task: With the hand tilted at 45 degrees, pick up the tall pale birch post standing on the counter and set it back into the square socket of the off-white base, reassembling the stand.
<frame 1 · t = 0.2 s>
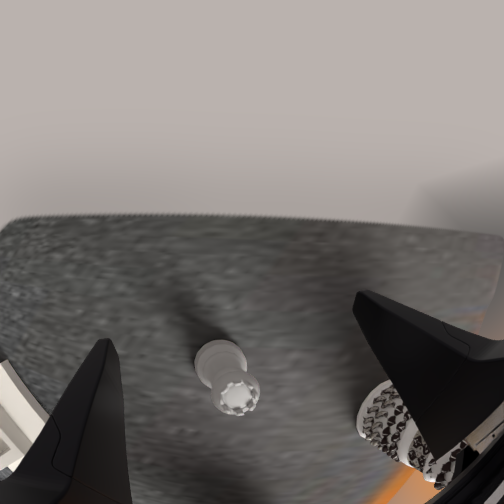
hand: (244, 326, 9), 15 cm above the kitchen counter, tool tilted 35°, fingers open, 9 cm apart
rook chess piece: (219, 361, 24), on the kitchen counter
decorative candle: (382, 409, 28), on the kitchen counter
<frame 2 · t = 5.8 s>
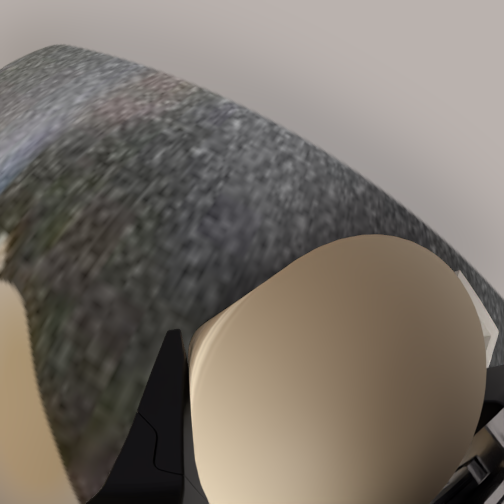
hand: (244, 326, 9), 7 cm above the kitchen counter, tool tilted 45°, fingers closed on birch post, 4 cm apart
birch post: (225, 353, 15), on the kitchen counter, touching gripper
socket base: (431, 349, 19), on the kitchen counter
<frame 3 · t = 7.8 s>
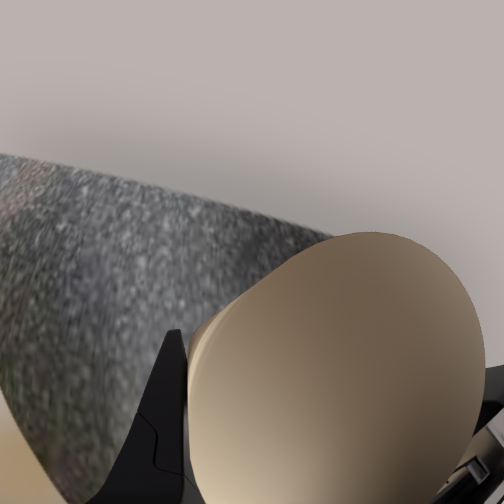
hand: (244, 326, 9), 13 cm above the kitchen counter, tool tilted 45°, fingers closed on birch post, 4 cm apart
birch post: (224, 353, 15), point 6 cm above the kitchen counter, touching gripper
when the fingers open (10 cm above the kitchen counter, at t = 9.9 s): birch post drops 1 cm, resting on socket base.
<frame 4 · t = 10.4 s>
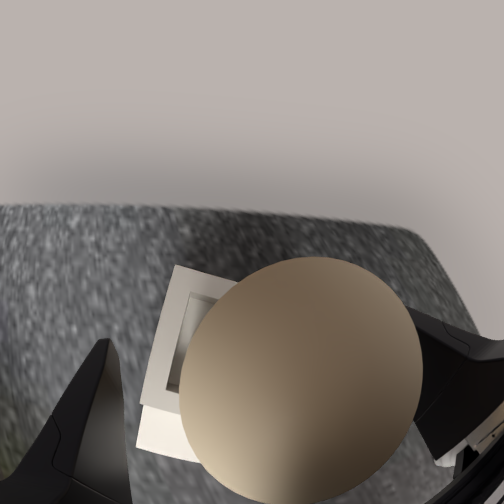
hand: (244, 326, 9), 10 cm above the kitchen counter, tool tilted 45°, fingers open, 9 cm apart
birch post: (222, 352, 17), point 2 cm above the kitchen counter, touching socket base
socket base: (219, 350, 18), on the kitchen counter
rook chess piece: (443, 447, 19), on the kitchen counter
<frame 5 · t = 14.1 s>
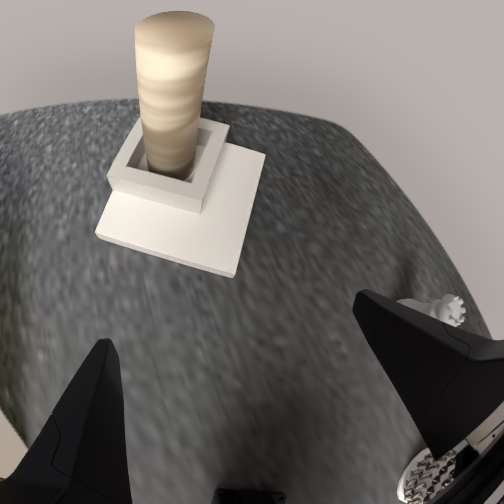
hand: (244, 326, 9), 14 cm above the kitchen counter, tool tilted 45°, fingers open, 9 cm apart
birch post: (171, 163, 24), point 2 cm above the kitchen counter, touching socket base
socket base: (171, 172, 25), on the kitchen counter
rook chess piece: (399, 320, 26), on the kitchen counter
decorative candle: (420, 474, 21), on the kitchen counter
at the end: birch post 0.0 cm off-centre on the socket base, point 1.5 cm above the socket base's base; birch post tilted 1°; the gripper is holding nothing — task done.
